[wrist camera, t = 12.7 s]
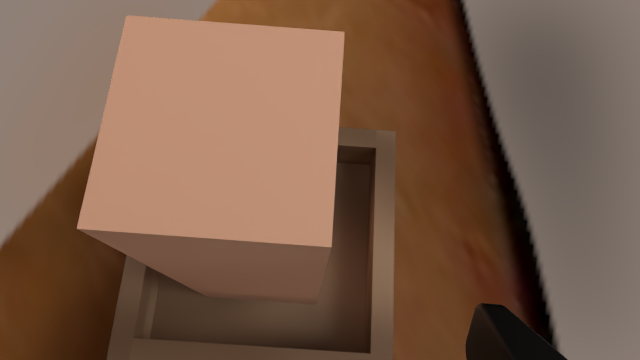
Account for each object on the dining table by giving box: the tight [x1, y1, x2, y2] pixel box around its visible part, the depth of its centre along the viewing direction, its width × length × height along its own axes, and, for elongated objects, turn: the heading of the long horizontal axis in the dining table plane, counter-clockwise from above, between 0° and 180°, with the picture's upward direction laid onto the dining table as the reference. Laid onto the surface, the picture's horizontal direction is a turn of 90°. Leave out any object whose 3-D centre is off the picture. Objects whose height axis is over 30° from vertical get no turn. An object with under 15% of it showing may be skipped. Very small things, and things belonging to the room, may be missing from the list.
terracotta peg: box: [77, 16, 344, 304], centre depth 15 cm, size 4×4×12 cm
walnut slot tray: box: [106, 127, 396, 360], centre depth 19 cm, size 18×10×3 cm, turn 176°
